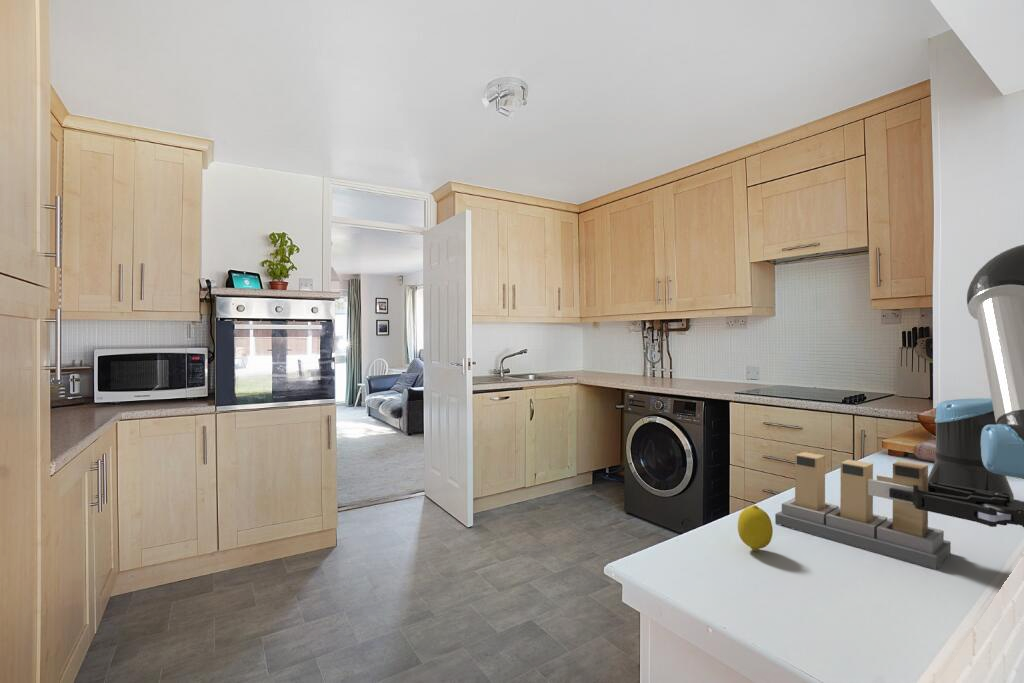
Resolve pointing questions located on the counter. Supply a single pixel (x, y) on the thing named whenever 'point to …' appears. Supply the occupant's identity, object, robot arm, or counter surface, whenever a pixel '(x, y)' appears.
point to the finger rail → (854, 514)
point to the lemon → (755, 527)
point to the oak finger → (906, 513)
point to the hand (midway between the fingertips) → (873, 484)
